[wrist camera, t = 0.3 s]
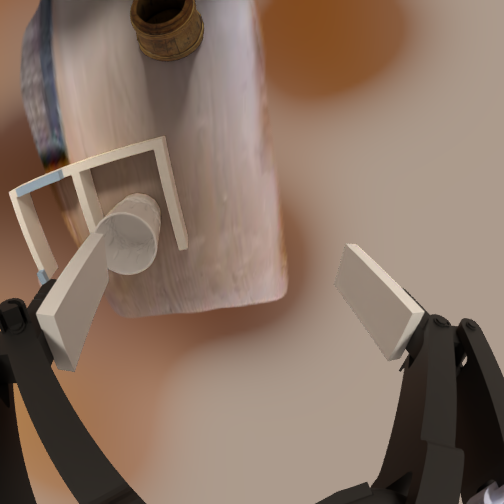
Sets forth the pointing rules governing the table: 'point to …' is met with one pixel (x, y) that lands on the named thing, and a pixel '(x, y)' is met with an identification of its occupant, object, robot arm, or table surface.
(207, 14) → the table surface
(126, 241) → the white cup
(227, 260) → the table surface
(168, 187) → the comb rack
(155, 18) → the wooden mug
